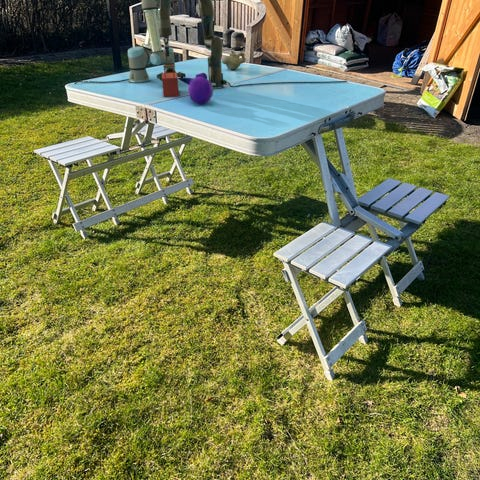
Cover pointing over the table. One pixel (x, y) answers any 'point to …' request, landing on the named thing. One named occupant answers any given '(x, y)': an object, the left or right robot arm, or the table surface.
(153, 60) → the left robot arm
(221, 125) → the table surface
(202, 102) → the toy
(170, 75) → the lid
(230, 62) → the teapot
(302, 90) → the table surface
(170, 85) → the chest
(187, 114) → the table surface
